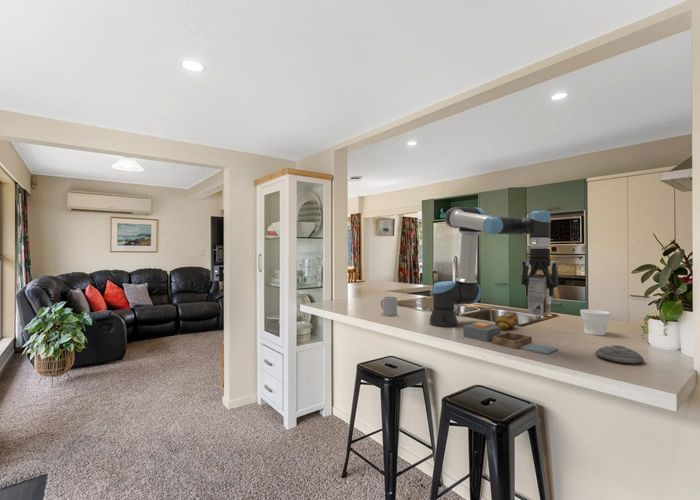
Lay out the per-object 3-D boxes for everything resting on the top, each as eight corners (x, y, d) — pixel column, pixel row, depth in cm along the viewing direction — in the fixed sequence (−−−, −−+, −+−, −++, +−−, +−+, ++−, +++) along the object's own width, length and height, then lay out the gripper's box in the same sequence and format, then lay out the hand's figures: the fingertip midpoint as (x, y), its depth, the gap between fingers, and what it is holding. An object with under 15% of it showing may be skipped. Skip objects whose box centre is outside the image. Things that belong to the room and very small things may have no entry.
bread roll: (508, 332, 180) (508, 316, 180) (489, 328, 188) (490, 313, 187) (518, 328, 189) (519, 313, 189) (500, 325, 196) (500, 310, 196)
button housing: (463, 336, 171) (463, 325, 171) (477, 332, 179) (477, 322, 179) (486, 341, 162) (487, 330, 162) (500, 337, 170) (500, 326, 169)
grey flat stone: (591, 352, 147) (591, 338, 147) (635, 356, 142) (636, 342, 142) (600, 363, 134) (600, 348, 134) (650, 368, 128) (651, 353, 128)
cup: (575, 330, 186) (576, 308, 186) (602, 331, 183) (602, 309, 183) (586, 335, 174) (586, 313, 173) (615, 337, 171) (615, 314, 171)
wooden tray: (491, 343, 159) (492, 336, 159) (507, 338, 168) (507, 331, 168) (516, 348, 150) (516, 341, 150) (531, 343, 159) (531, 336, 159)
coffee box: (534, 311, 155) (535, 274, 155) (551, 313, 151) (551, 275, 151) (527, 313, 149) (527, 275, 149) (543, 316, 144) (544, 276, 144)
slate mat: (519, 348, 151) (519, 347, 151) (531, 344, 158) (531, 342, 158) (546, 354, 142) (546, 353, 142) (558, 349, 149) (558, 348, 149)
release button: (472, 333, 171) (472, 323, 171) (479, 332, 175) (479, 321, 175) (484, 336, 166) (484, 325, 166) (491, 334, 170) (491, 324, 170)
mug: (399, 315, 222) (400, 297, 222) (390, 317, 216) (390, 298, 216) (385, 312, 231) (385, 295, 231) (376, 314, 225) (376, 296, 225)
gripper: (512, 247, 155) (511, 300, 155) (561, 248, 140) (561, 307, 140) (520, 247, 160) (520, 299, 160) (569, 248, 144) (568, 305, 145)
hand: (539, 302), depth 150 cm, fingers closed on coffee box, 7 cm apart
